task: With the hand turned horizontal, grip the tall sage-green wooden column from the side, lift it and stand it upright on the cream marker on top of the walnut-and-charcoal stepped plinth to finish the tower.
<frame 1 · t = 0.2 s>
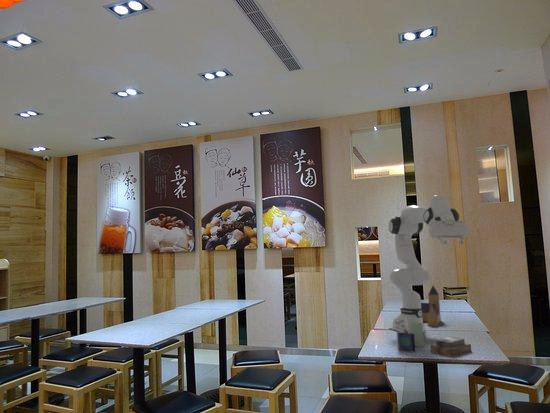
hand: (453, 244, 207), 53 cm above the table, tool tilted 30°, fingers open, 8 cm apart
flask: (406, 350, 210), on the table
toy building blocks: (429, 323, 280), on the table
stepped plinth: (451, 351, 205), on the table
sage column: (418, 345, 218), on the table
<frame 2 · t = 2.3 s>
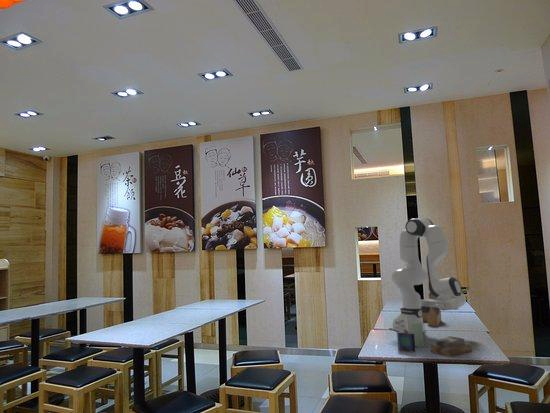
hand: (429, 305, 227), 20 cm above the table, tool horizontal, fingers open, 8 cm apart
nothing on the table moved.
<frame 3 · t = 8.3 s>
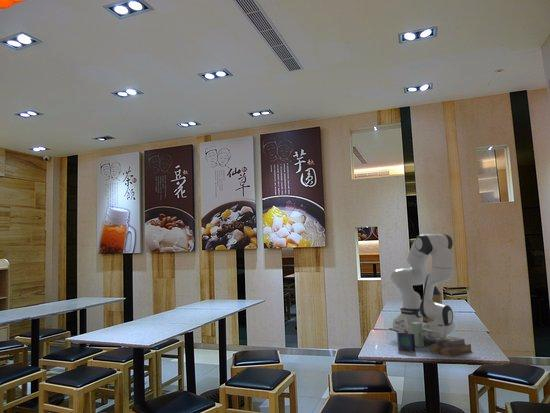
hand: (416, 333, 218), 7 cm above the table, tool horizontal, fingers closed on sage column, 4 cm apart
sage column: (418, 345, 218), on the table, touching gripper
when the fingers open (14 cm above the table, at t = 15.0 s): sage column drops 1 cm, resting on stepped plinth.
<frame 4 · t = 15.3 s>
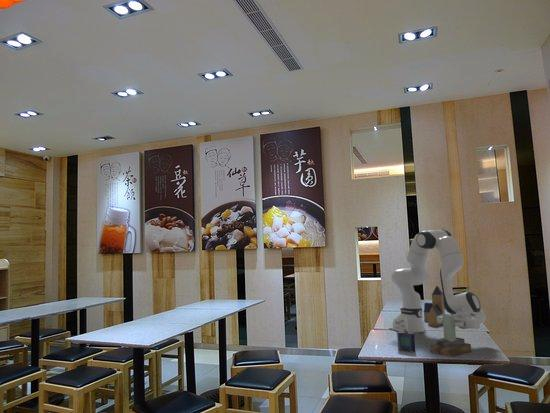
hand: (447, 323, 206), 14 cm above the table, tool horizontal, fingers open, 7 cm apart
sage column: (450, 338, 205), point 6 cm above the table, touching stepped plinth
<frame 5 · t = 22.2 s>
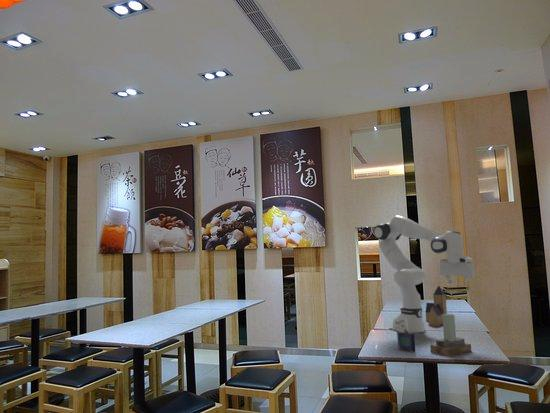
hand: (457, 283, 230), 31 cm above the table, tool pointing down, fingers open, 8 cm apart
at the end: sage column 0.1 cm off-centre on the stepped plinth, point 6.2 cm above the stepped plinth's base; sage column tilted 0°; the gripper is holding nothing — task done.
